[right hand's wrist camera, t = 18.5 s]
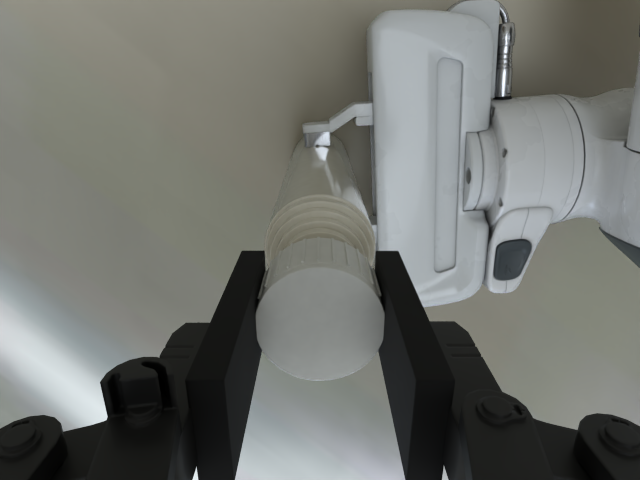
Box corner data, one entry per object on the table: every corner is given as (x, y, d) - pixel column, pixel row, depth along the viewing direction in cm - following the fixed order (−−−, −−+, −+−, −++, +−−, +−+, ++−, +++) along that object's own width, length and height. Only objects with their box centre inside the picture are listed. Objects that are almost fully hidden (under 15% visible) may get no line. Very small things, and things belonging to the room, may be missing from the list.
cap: (270, 341, 16) (261, 387, 13) (255, 240, 14) (242, 271, 12) (379, 333, 15) (389, 378, 13) (375, 230, 14) (385, 260, 12)
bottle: (350, 133, 36) (407, 249, 12) (344, 188, 38) (387, 383, 14) (293, 129, 36) (243, 238, 12) (291, 184, 38) (242, 374, 14)
